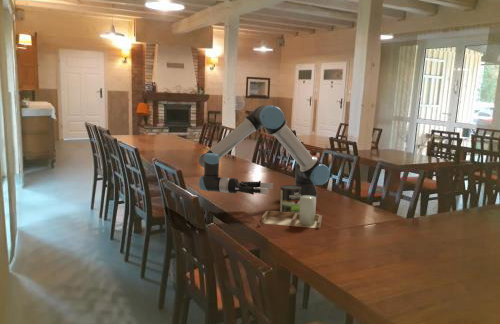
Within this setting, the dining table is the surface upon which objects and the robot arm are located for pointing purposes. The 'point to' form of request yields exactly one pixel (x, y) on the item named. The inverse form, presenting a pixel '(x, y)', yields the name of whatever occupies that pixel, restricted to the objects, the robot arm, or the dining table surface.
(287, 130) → the robot arm
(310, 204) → the sage jar
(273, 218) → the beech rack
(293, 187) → the coffee can
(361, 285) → the dining table surface
